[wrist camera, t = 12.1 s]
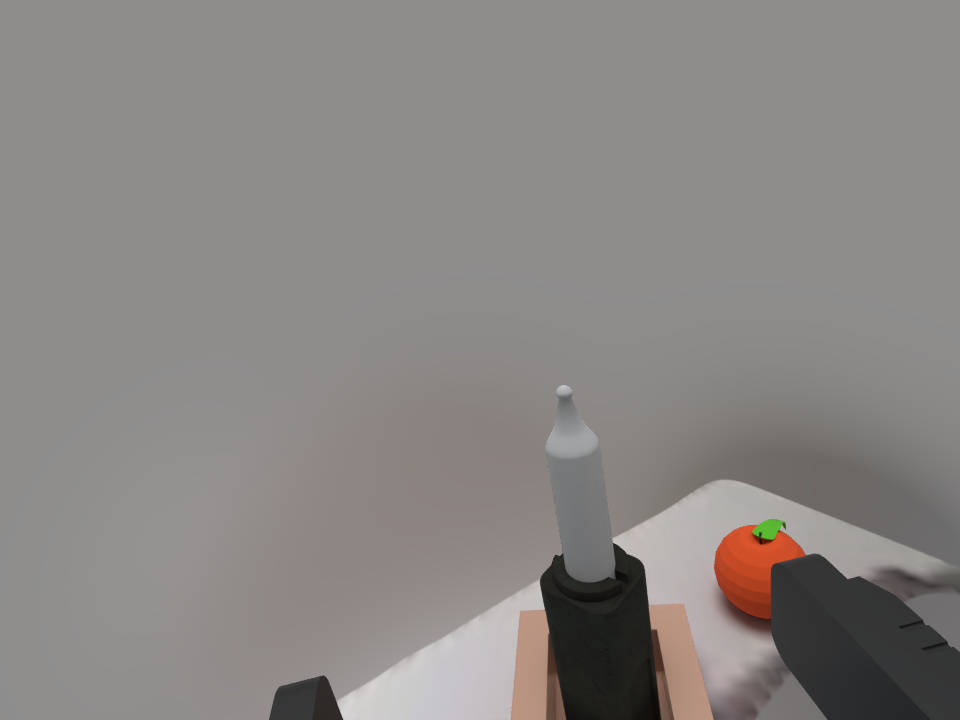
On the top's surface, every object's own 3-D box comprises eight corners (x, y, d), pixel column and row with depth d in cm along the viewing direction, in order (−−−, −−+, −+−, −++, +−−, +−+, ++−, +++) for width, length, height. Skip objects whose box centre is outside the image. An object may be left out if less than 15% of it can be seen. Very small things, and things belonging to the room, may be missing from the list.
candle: (601, 677, 42) (552, 362, 33) (667, 715, 38) (632, 372, 30) (561, 733, 38) (494, 399, 30) (629, 779, 35) (577, 416, 26)
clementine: (744, 556, 51) (742, 489, 49) (830, 589, 46) (832, 516, 44) (700, 611, 47) (695, 540, 44) (790, 655, 42) (790, 578, 39)
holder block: (520, 829, 34) (506, 773, 33) (530, 659, 45) (520, 611, 44) (731, 835, 32) (727, 775, 30) (687, 654, 43) (683, 603, 41)
